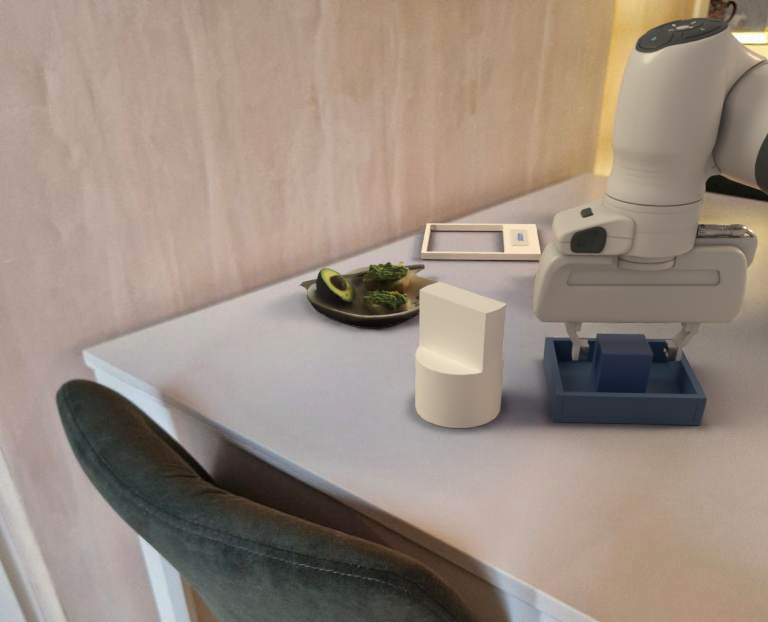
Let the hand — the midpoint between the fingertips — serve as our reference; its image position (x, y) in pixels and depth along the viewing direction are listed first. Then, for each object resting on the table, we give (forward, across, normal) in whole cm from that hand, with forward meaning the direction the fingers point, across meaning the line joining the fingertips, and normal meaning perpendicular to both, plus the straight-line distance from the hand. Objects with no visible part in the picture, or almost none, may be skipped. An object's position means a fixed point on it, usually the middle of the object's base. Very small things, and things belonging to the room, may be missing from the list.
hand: (624, 358), depth 80 cm
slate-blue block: (+3, 0, 0) cm, 3 cm away
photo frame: (+4, +14, -48) cm, 50 cm away
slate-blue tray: (+4, 0, 0) cm, 4 cm away
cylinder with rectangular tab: (+4, +17, +4) cm, 18 cm away
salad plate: (+4, +29, -24) cm, 38 cm away
